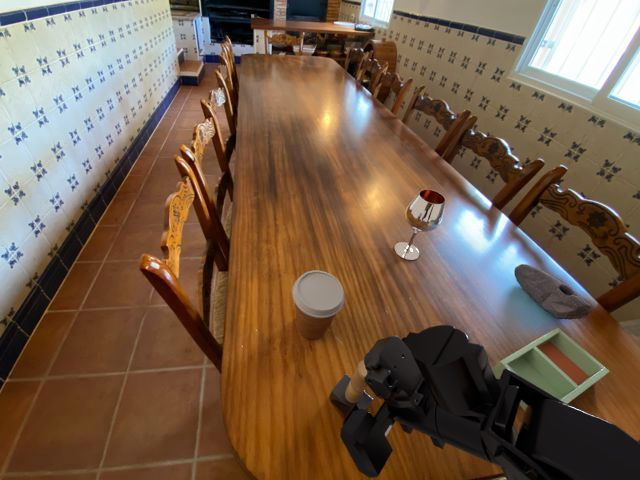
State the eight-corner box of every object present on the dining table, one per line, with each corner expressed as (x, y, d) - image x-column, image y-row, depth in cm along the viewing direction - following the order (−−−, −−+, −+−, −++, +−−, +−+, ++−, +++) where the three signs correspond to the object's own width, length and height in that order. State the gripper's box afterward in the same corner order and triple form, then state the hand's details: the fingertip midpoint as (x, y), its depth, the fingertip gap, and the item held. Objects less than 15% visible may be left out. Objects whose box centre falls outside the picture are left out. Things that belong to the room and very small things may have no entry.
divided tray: (593, 380, 55) (610, 371, 53) (536, 423, 49) (552, 415, 47) (544, 337, 62) (557, 327, 59) (488, 371, 55) (500, 361, 53)
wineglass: (428, 260, 76) (459, 205, 65) (401, 265, 74) (427, 209, 63) (411, 238, 82) (436, 184, 71) (385, 242, 80) (406, 188, 69)
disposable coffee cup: (286, 305, 63) (290, 269, 56) (329, 303, 64) (339, 267, 57) (290, 349, 56) (295, 314, 48) (339, 346, 57) (352, 311, 50)
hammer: (368, 405, 50) (391, 373, 41) (355, 425, 47) (375, 394, 39) (342, 380, 52) (358, 345, 44) (328, 397, 50) (342, 363, 42)
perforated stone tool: (502, 276, 74) (518, 257, 69) (518, 272, 75) (534, 253, 71) (560, 330, 63) (583, 312, 58) (577, 324, 64) (601, 306, 60)
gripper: (452, 304, 38) (361, 300, 51) (375, 424, 27) (284, 381, 40) (485, 376, 39) (388, 354, 52) (425, 519, 28) (321, 447, 41)
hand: (350, 379), depth 46 cm, fingers open, 9 cm apart
